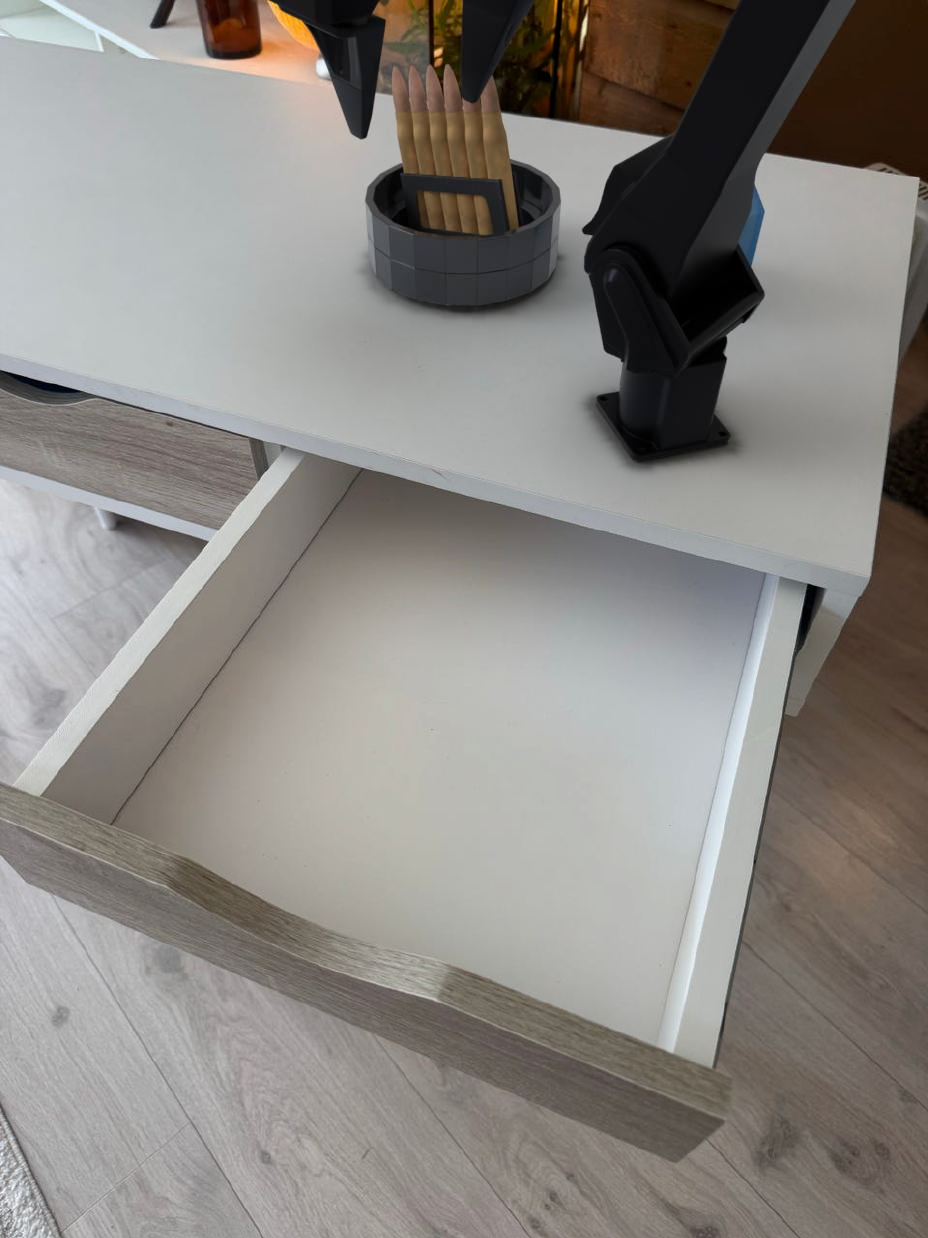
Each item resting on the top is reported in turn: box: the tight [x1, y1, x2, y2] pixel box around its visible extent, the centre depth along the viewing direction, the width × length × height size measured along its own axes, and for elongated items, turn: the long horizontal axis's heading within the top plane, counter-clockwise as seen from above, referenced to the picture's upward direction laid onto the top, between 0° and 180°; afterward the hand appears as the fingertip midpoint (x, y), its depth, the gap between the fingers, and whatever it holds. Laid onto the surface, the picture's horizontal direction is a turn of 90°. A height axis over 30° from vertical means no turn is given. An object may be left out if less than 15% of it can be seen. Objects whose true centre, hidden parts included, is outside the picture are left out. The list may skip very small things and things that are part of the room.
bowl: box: [364, 158, 562, 307], centre depth 70 cm, size 14×14×6 cm
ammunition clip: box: [391, 63, 524, 236], centre depth 67 cm, size 11×2×12 cm, turn 47°
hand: (416, 117), depth 57 cm, fingers open, 9 cm apart
